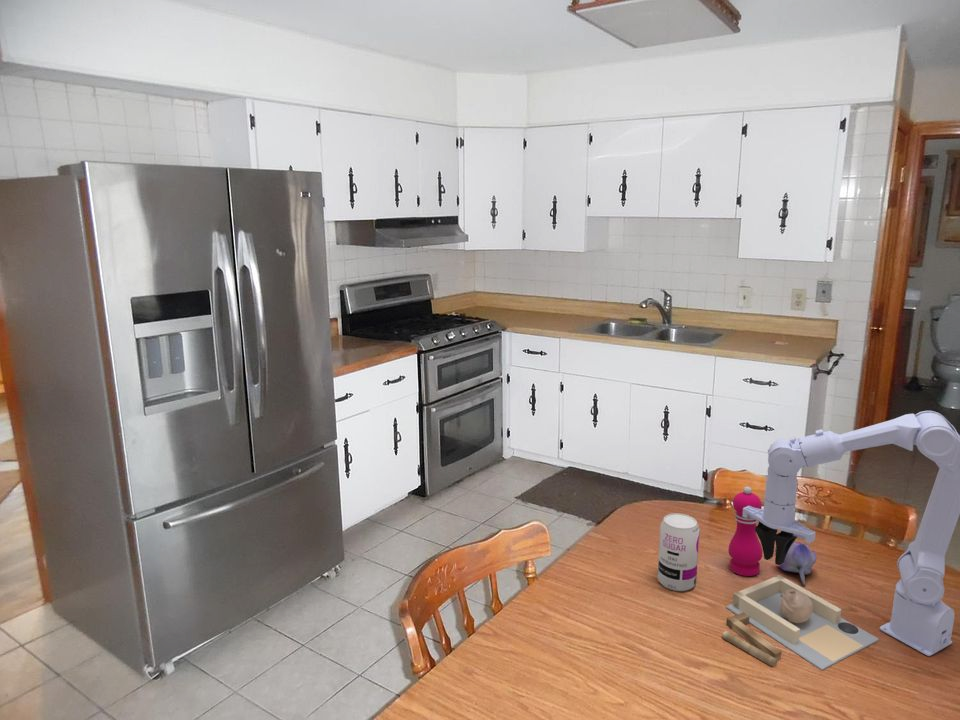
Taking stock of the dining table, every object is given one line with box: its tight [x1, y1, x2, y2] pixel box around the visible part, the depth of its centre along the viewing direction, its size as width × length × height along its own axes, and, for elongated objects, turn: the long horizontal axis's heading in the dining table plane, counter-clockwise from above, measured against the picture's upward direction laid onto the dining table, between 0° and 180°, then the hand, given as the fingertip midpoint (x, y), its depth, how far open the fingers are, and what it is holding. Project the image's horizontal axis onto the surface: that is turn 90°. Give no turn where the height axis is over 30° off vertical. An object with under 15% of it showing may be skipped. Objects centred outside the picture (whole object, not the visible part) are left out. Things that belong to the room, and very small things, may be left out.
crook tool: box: [725, 613, 782, 661], centre depth 130 cm, size 12×4×2 cm, turn 25°
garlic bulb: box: [780, 589, 813, 624], centre depth 135 cm, size 7×6×8 cm
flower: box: [774, 540, 817, 587], centre depth 151 cm, size 9×8×10 cm
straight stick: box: [721, 630, 778, 668], centre depth 127 cm, size 11×2×2 cm, turn 37°
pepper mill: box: [727, 485, 764, 577], centre depth 152 cm, size 7×7×20 cm
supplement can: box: [657, 512, 701, 592], centre depth 148 cm, size 8×8×15 cm
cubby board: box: [725, 574, 880, 671], centre depth 135 cm, size 22×17×3 cm
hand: (774, 560), depth 139 cm, fingers closed
